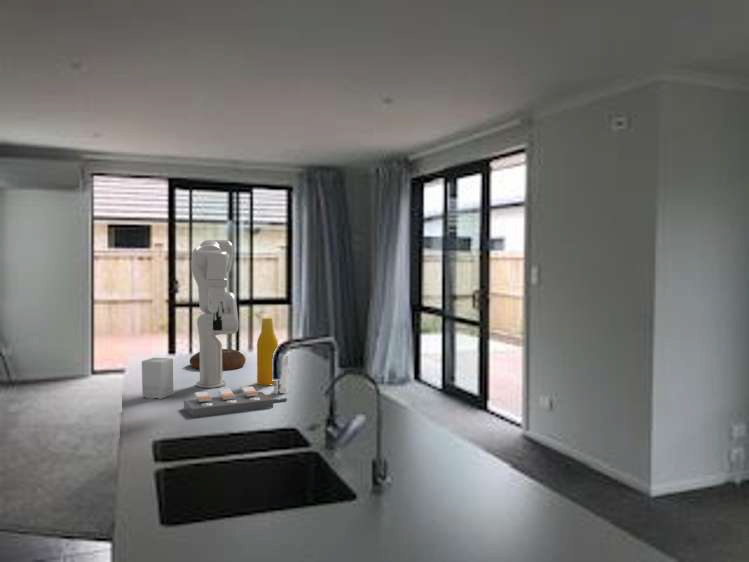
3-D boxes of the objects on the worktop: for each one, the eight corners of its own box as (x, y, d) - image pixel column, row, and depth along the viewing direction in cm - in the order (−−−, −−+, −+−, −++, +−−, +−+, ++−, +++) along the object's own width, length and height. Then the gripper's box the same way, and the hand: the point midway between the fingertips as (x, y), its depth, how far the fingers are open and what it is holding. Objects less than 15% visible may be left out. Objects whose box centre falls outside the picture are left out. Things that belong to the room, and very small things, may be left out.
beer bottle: (280, 384, 275) (280, 319, 274) (259, 386, 272) (259, 319, 270) (275, 380, 284) (275, 316, 282) (255, 382, 281) (254, 317, 279)
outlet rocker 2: (241, 389, 244) (241, 386, 244) (252, 388, 246) (252, 385, 246) (246, 396, 238) (246, 393, 238) (257, 395, 241) (258, 392, 240)
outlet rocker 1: (218, 391, 240) (218, 388, 240) (229, 390, 242) (229, 387, 242) (223, 399, 234) (223, 396, 234) (234, 398, 236) (235, 395, 236)
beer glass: (285, 394, 257) (285, 358, 256) (269, 393, 258) (269, 357, 257) (291, 391, 264) (291, 355, 263) (275, 390, 265) (275, 355, 264)
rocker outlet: (194, 395, 236) (194, 391, 235) (206, 393, 238) (206, 390, 238) (198, 401, 230) (199, 398, 229) (211, 400, 232) (211, 397, 232)
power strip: (184, 408, 235) (183, 398, 234) (280, 397, 253) (280, 387, 253) (192, 417, 222) (192, 406, 222) (293, 404, 241) (293, 395, 241)
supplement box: (174, 394, 257) (173, 358, 256) (161, 399, 248) (160, 362, 247) (155, 392, 259) (154, 357, 258) (141, 397, 250) (141, 360, 250)
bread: (185, 363, 324) (184, 347, 324) (237, 359, 337) (237, 343, 336) (196, 373, 299) (196, 355, 299) (252, 369, 312) (252, 351, 311)
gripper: (203, 282, 249) (203, 328, 250) (212, 285, 235) (212, 333, 237) (221, 281, 252) (222, 326, 254) (232, 284, 239) (232, 332, 241)
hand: (217, 330), depth 245 cm, fingers closed
